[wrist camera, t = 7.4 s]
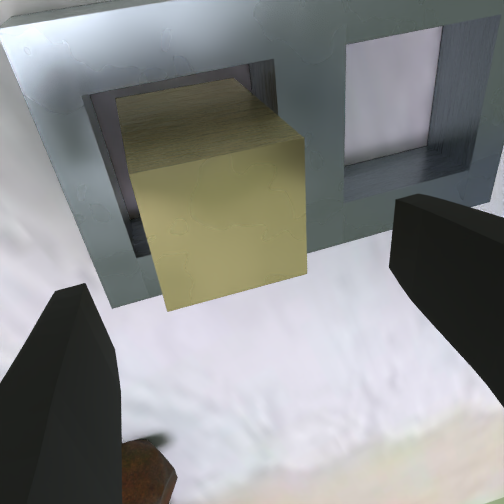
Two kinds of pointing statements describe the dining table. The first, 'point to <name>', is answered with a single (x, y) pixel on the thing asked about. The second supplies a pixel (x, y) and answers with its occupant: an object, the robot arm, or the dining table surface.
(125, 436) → the dining table surface
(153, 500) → the bolt
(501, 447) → the dining table surface
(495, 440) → the dining table surface
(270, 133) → the square peg
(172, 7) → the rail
